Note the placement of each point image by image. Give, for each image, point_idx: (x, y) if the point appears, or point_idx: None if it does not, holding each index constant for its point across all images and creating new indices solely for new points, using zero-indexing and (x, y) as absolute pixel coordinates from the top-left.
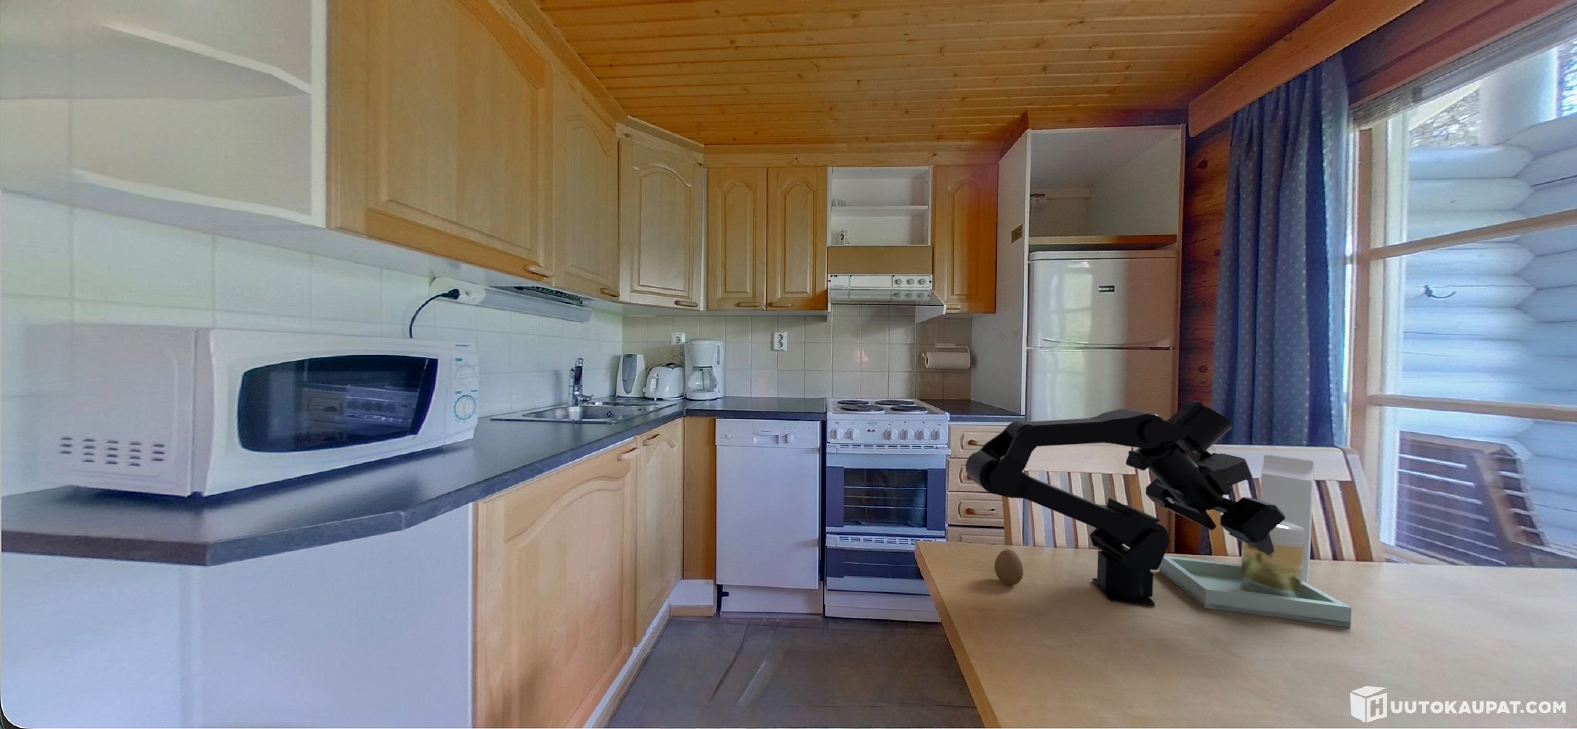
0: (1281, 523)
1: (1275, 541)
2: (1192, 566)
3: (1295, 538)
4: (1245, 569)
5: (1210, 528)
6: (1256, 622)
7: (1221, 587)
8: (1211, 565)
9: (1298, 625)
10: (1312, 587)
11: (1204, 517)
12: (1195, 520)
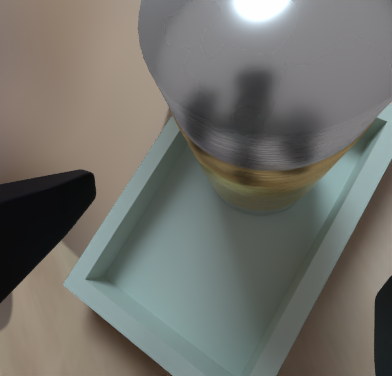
0: None
1: (342, 146)
2: (125, 228)
3: None
4: (228, 197)
5: (87, 204)
6: (328, 347)
7: (203, 246)
8: (146, 187)
9: (359, 250)
10: None
11: (27, 227)
12: (19, 276)
